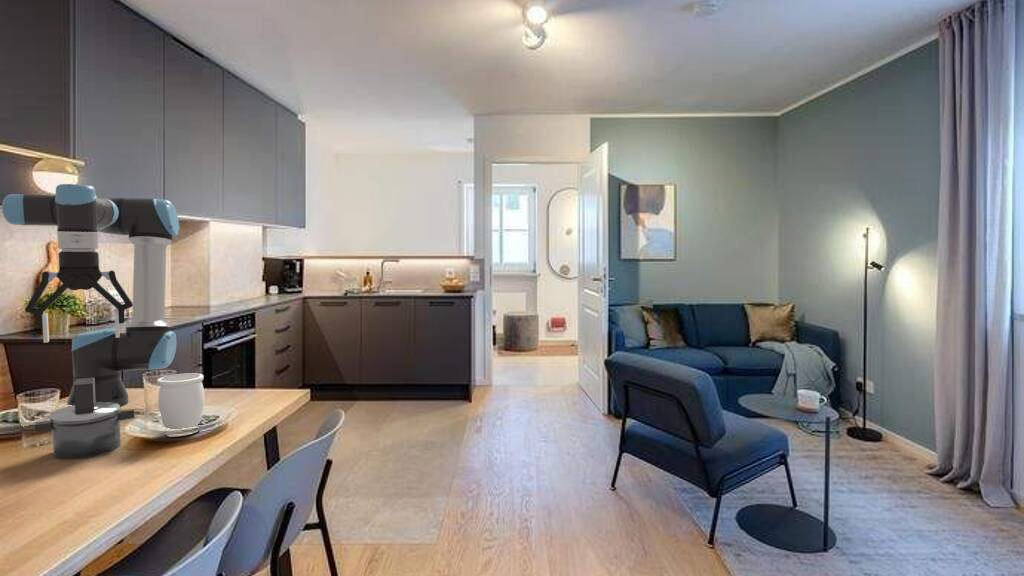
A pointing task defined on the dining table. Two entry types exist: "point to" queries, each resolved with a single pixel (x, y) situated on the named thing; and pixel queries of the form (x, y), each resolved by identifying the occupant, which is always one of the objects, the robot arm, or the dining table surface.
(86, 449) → the pot
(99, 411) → the lid
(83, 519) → the dining table surface
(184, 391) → the jar
